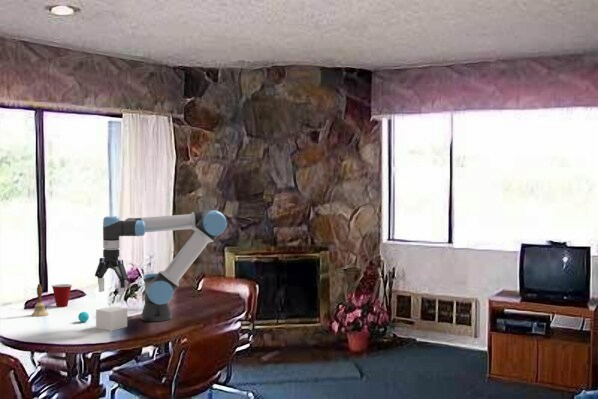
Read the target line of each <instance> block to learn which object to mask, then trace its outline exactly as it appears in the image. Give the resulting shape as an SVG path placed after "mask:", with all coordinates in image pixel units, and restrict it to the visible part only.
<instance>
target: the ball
mask: <svg viewBox="0 0 598 399" xmlns="http://www.w3.org/2000/svg"><path fill="white" fill-rule="evenodd" d="M77 317H78V320H79V322H81V323H85V322H87V321H88V320H89V318H90V314H89V313H88V312H86V311H82V312H80V313H79V314H78V316H77Z"/></svg>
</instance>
